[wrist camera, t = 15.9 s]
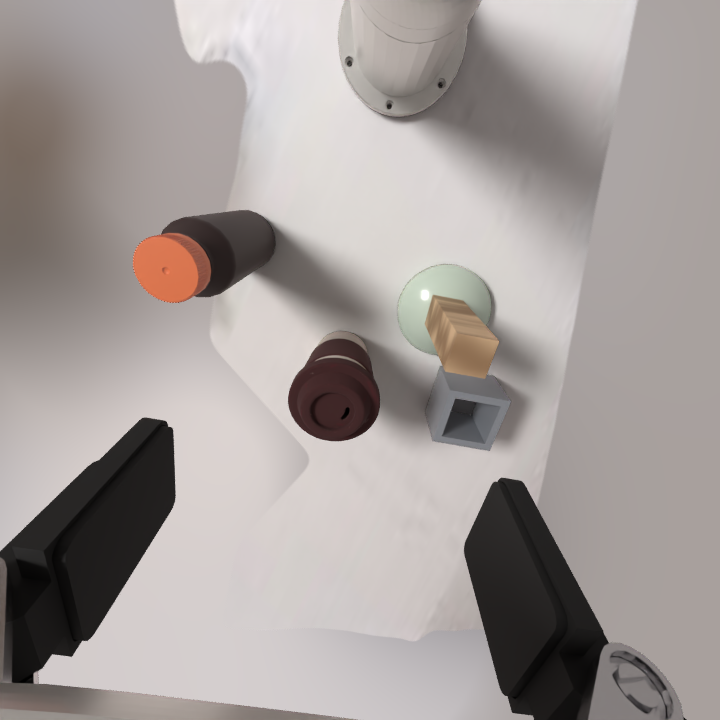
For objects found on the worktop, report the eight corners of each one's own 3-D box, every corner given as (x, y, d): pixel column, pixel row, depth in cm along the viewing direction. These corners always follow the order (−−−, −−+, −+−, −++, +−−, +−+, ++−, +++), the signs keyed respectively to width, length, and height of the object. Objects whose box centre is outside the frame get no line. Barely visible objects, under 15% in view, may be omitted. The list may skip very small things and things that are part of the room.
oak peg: (432, 294, 46) (457, 333, 33) (463, 300, 46) (499, 341, 33) (424, 323, 47) (445, 371, 34) (453, 329, 47) (485, 378, 35)
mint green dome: (409, 255, 45) (410, 256, 44) (501, 274, 45) (505, 276, 44) (388, 342, 50) (388, 346, 49) (471, 358, 50) (473, 362, 49)
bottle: (214, 214, 43) (102, 229, 25) (268, 205, 43) (194, 214, 25) (230, 270, 46) (140, 320, 28) (281, 263, 45) (224, 309, 27)
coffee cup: (293, 344, 50) (265, 400, 37) (351, 307, 48) (345, 352, 34) (333, 395, 54) (321, 464, 40) (390, 363, 51) (398, 425, 37)
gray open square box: (440, 365, 51) (450, 390, 45) (493, 375, 52) (511, 401, 45) (425, 412, 54) (432, 441, 48) (475, 421, 55) (489, 450, 48)
